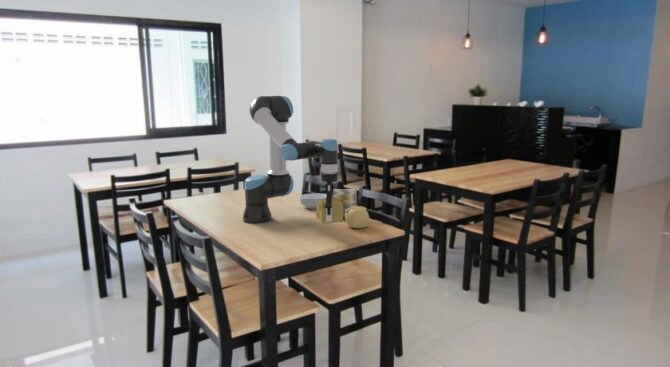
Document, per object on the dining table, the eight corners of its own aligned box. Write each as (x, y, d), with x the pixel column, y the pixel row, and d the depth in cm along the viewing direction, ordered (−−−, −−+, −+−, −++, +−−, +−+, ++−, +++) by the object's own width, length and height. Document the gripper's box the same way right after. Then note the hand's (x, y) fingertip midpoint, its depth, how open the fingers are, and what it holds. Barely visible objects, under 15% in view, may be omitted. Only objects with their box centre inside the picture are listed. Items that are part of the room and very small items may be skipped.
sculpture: (362, 222, 240) (362, 202, 237) (372, 228, 229) (372, 207, 226) (342, 225, 236) (341, 204, 233) (351, 231, 225) (351, 210, 222)
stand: (330, 219, 245) (330, 191, 242) (330, 216, 251) (330, 188, 248) (356, 219, 245) (356, 191, 242) (356, 216, 251) (356, 188, 248)
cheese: (315, 218, 223) (315, 198, 221) (337, 216, 226) (337, 196, 224) (321, 224, 213) (321, 203, 211) (343, 222, 216) (343, 201, 214)
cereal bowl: (330, 204, 279) (330, 192, 278) (327, 211, 263) (327, 199, 262) (302, 204, 281) (302, 192, 279) (297, 211, 265) (297, 198, 263)
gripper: (336, 177, 203) (336, 225, 208) (338, 168, 226) (338, 210, 231) (319, 177, 203) (320, 225, 208) (322, 167, 227) (323, 210, 231)
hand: (329, 217), depth 219 cm, fingers closed on cheese, 12 cm apart
